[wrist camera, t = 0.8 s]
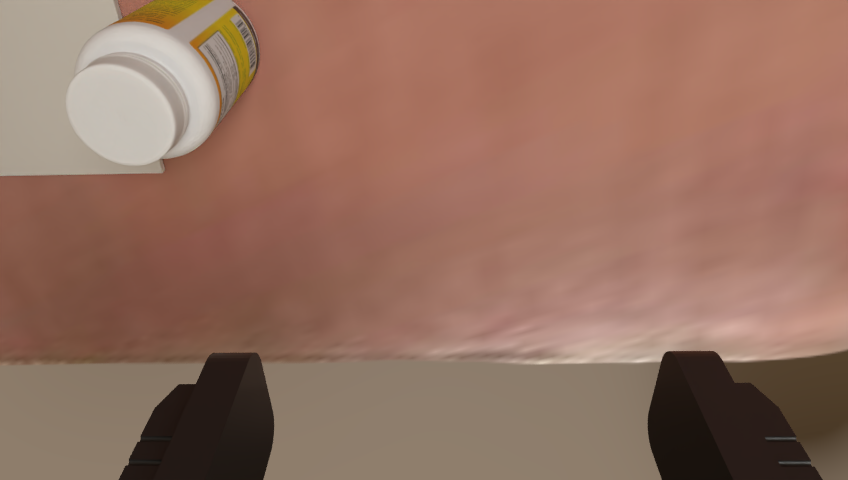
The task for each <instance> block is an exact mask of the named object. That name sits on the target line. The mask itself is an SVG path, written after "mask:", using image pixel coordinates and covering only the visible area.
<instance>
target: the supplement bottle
mask: <svg viewBox="0 0 848 480" xmlns="http://www.w3.org/2000/svg"><path fill="white" fill-rule="evenodd" d="M259 58H260V48H259V41H258V37H257V34H256V31H255V29H254V27H253V25H252V23H251V21H250V20H249V18H248V17H247V15H246V14H245V13H244V11H243V10H242V9H241V8H240V7H239V6H238V5H237V4H236V3H234V2H233V1H232V0H154V1H152V2H150V3H149V4H147V5H145V6H143V7H142V8H140V9H138V10H136V11H134V12H133V13H131V14H129V15H127V16H125V17H124V18H122V19H120V20H118V21H116V22H114V23H112V24H111V25H109V26H107V27H105V28H103V29H102V30H100V31H99V32H97V33H96V34H94V35H93V36H92V37H91V38H90V39H89V40H88V41H87V42H86V43H85V44H84V46H83V47H82V49H81V51H80V53H79V55H78V58H77V61H76V65H75V72H74V78H73V79H72V81H71V82H70V84H69V86H68V89H67V93H66V100H65V102H66V112H67V115H68V119H69V121H70V124H71V126H72V127H73V129H74V131H75V133H76V134H77V135H78V137H79V138H80V139H81V140H82V141H83V143H84V144H85V145H87V146H88V147H89V148H90V149H91V150H92V151H94V152H95V153H96V154H98V155H99V156H101V157H103V158H105V159H107V160H109V161H112V162H114V163H118V164H122V165H128V166H141V165H147V164H150V163H153V162H155V161H157V160H159V159H169V158H174V157H179V156H182V155H185V154H187V153H189V152H191V151H193V150H195V149H196V148H198V147H199V146H200V145H201V144H202V143H204V142H205V141H206V139H207V138H208V137H209V136H210V135H211V134H212V132H213V131H214V130H215V128H216V127H217V126H218V124H219V123H220V122H221V120H222V119H223V118H224V117H225V115H226V114H227V113H228V111H229V110H230V109H231V108H232V106H233V105H234V104H235V102H236V101H237V100H238V98H239V97H240V96H241V94H242V93H243V92H244V91H245V89H246V88H247V87H248V86H249V84H250V83H251V81H252V80H253V78H254V76H255V74H256V71H257V68H258V65H259Z"/></svg>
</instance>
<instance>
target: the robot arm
mask: <svg viewBox="0 0 848 480" xmlns="http://www.w3.org/2000/svg"><path fill="white" fill-rule="evenodd" d="M648 435H649V442H650V446H651V450H652V453H653V455H654V458H655V461H656V464H657V467H658V470H659V472H660V475H661V478H662V480H822V478H821V477H820V475H819V473H818V471H817V470H816V468H815V467H812V466H811V460H810V458H809V457H808V455H807V453H806V452H805V450H804V448H803V447H802V445H801V444H800V442H797V441H796V435H795V434H794V432H793V431H792V429H791V427H790V425H789V424H788V422H787V421H786V419H785V417H784V416H783V414H782V412H781V411H780V409H779V407H777V406H776V405H775V404H774V403H773V402H772V401H771V400H769V399H768V398H767V397H766V396H765V395H764V394H763V393H761V392H760V391H759V390H758V389H757V388H756V387H754V385H752V384H751V383H734V381H733V379H732V377H731V376H730V374H729V372H728V370H727V368H726V367H725V365H724V363H723V361H722V359H721V358H720V356H719V355H718V354H717V353H716V352H714V351H668V352H666V353H665V354H664V356H663V358H662V361H661V365H660V369H659V373H658V378H657V381H656V386H655V389H654V393H653V397H652V401H651V405H650V409H649V414H648ZM273 436H274V416H273V410H272V406H271V402H270V397H269V393H268V389H267V384H266V380H265V376H264V372H263V367H262V363H261V359H260V357H259V355H258V354H257V353H213V354H211V355H210V356H209V357H208V359H207V361H206V363H205V365H204V367H203V369H202V372H201V374H200V376H199V379H198V381H197V383H196V384H179V385H178V386H177V387H176V388H175V389H174V390H173V391H172V392H171V393H170V394H169V395H168V396H167V397H166V398H165V399H164V400H163V401H162V402H161V403H160V404H159V405H157V407H155V409H154V411H153V413H152V415H151V417H150V419H149V421H148V422H147V424H146V426H145V428H144V430H143V432H142V434H141V440H140V442H137V444H136V447H135V448H134V451H133V452H132V455H131V456H130V458H129V465H128V466H125V468H124V470H123V472H122V474H121V476H120V478H119V480H263V478H264V475H265V471H266V467H267V464H268V460H269V457H270V452H271V449H272V444H273Z"/></svg>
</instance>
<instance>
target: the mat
mask: <svg viewBox="0 0 848 480" xmlns="http://www.w3.org/2000/svg"><path fill="white" fill-rule="evenodd" d="M120 19H122V15H121V11H120V8H119V4H118V0H0V176H25V175H82V174H140V173H163V172H164V171H165V167H164V164H163V160H162V159H159V160H157V161H155V162H153V163H150V164H147V165H141V166H128V165H122V164H118V163H114V162H112V161H109V160H107V159H105V158H103V157H101V156H99V155H98V154H96V153H95V152H94V151H92V150H91V149H90V148H89V147H88V146H87V145H85V144H84V143H83V141H82V140H81V139H80V138H79V137H78V135H77V134H76V133H75V131H74V129H73V127H72V126H71V124H70V121H69V119H68V115H67V112H66V102H65V100H66V93H67V89H68V86H69V84H70V82H71V81H72V79H73V78H74V72H75V65H76V61H77V58H78V55H79V53H80V51H81V49H82V47H83V46H84V44H85V43H86V42H87V41H88V40H89V39H90V38H91V37H92V36H93V35H94V34H96V33H97V32H99V31H100V30H102V29H103V28H105V27H107V26H109V25H111V24H112V23H114V22H116V21H118V20H120Z"/></svg>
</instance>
